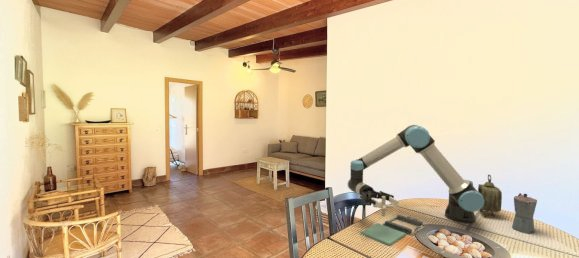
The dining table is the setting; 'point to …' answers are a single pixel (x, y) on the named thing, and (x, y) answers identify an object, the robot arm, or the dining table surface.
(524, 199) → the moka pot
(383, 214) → the pipe connector
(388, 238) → the teal board
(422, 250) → the dining table surface
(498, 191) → the olive green lantern
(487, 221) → the dining table surface
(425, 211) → the dining table surface
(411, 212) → the dining table surface
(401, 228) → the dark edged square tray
